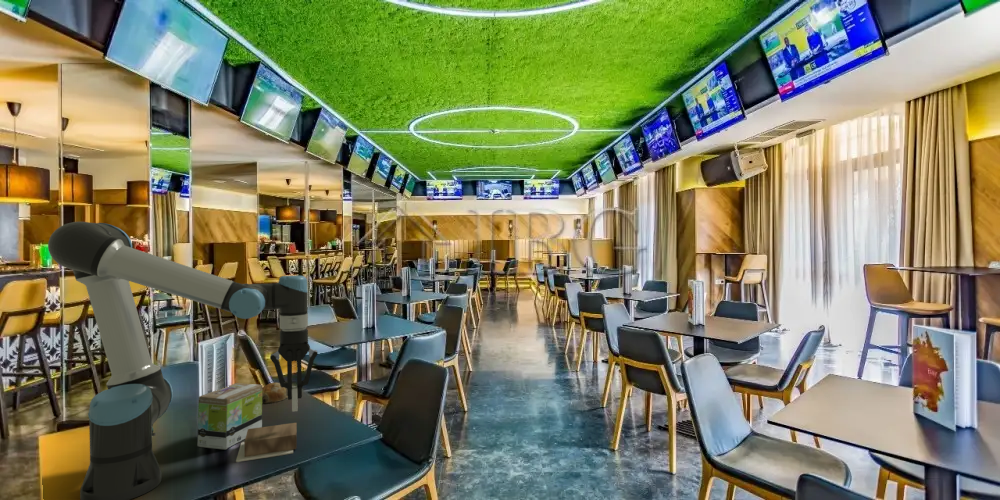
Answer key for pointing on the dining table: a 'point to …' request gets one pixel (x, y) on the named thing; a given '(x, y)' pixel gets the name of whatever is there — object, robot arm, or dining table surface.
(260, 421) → the tea box
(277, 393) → the bread roll
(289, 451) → the mat
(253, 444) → the slab
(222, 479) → the dining table surface
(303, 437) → the dining table surface
